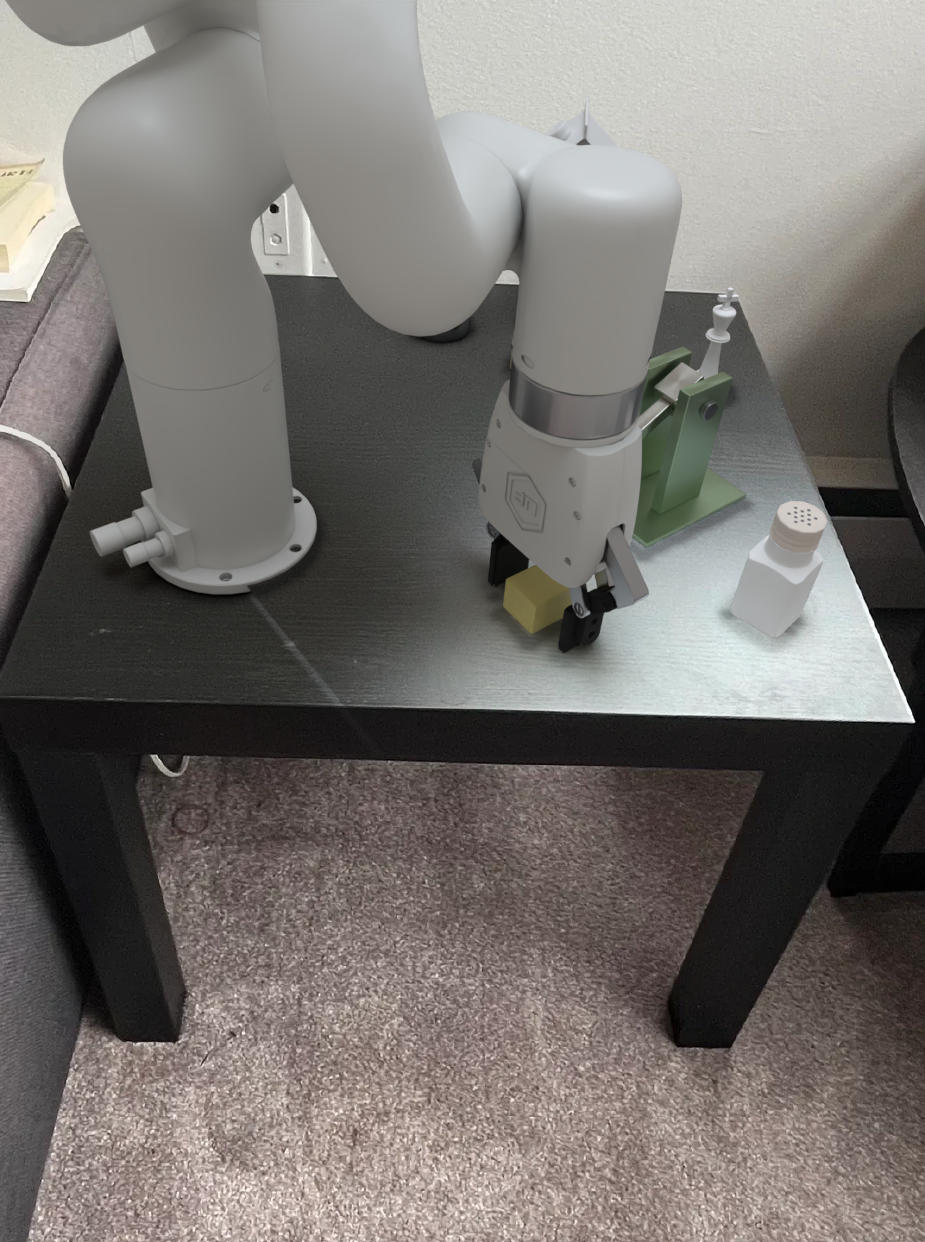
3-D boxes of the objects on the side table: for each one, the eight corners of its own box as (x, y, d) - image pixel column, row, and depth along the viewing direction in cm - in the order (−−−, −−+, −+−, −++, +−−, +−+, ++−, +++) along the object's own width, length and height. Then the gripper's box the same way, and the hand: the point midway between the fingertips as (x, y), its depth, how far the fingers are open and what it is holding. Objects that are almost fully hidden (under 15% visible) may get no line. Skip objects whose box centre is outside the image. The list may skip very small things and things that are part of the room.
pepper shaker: (771, 649, 67) (814, 545, 61) (722, 619, 69) (759, 515, 62) (800, 620, 70) (845, 516, 63) (752, 591, 71) (790, 488, 65)
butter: (530, 643, 67) (535, 606, 64) (501, 615, 68) (505, 578, 66) (578, 617, 69) (585, 581, 66) (549, 590, 70) (555, 554, 68)
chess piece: (738, 405, 88) (768, 302, 81) (686, 407, 88) (712, 304, 80) (719, 375, 92) (747, 274, 85) (669, 377, 91) (693, 275, 84)
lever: (573, 530, 71) (562, 507, 68) (545, 506, 72) (533, 482, 70) (713, 403, 72) (708, 375, 69) (682, 383, 73) (676, 354, 71)
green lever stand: (643, 556, 73) (676, 425, 65) (565, 493, 78) (586, 362, 70) (743, 506, 78) (785, 377, 70) (663, 449, 83) (694, 322, 75)
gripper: (432, 337, 58) (425, 559, 71) (633, 492, 49) (583, 715, 62) (530, 305, 62) (506, 522, 74) (735, 444, 52) (668, 665, 65)
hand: (541, 608), depth 68 cm, fingers open, 7 cm apart
